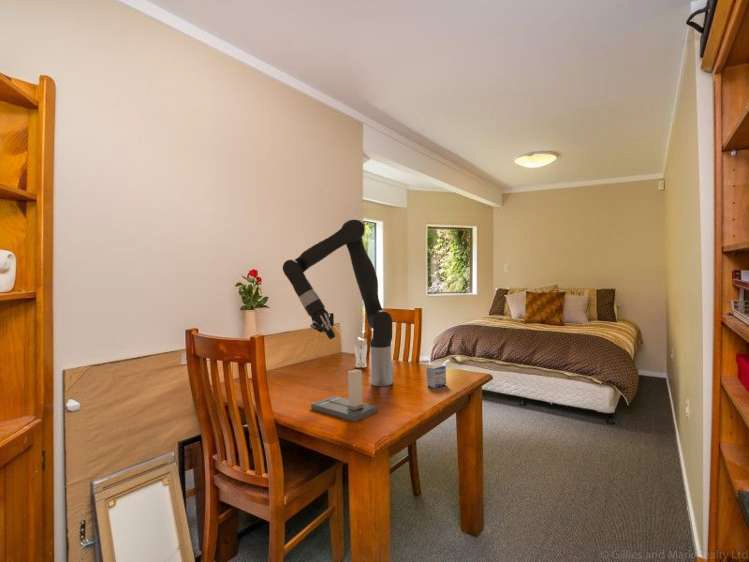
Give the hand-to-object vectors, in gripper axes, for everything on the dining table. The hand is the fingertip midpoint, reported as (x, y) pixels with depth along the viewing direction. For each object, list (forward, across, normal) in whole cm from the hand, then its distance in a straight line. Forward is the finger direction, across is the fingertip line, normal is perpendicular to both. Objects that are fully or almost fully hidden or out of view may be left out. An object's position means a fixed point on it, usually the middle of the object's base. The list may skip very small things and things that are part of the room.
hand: (333, 338), depth 162 cm
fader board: (+24, -18, -5) cm, 31 cm away
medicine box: (+42, +25, -13) cm, 51 cm away
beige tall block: (+25, -18, -12) cm, 33 cm away
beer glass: (+22, +37, +34) cm, 55 cm away
